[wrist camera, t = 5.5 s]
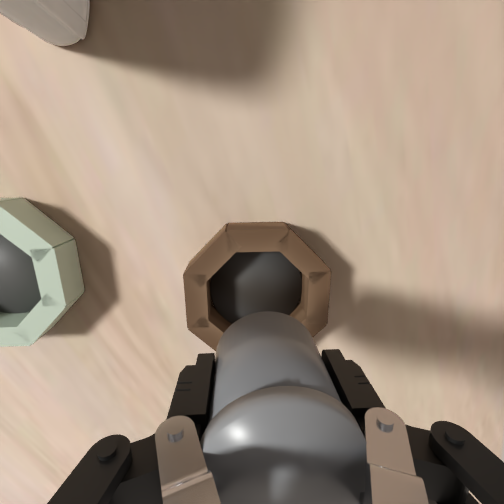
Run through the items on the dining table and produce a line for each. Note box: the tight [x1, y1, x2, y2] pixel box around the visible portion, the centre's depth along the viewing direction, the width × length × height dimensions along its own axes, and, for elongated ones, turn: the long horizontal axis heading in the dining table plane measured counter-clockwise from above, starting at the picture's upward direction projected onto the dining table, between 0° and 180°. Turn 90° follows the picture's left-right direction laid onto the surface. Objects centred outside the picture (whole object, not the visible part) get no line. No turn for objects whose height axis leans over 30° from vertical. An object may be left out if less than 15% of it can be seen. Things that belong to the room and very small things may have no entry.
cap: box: [200, 311, 367, 504], centre depth 12 cm, size 5×5×6 cm
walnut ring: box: [183, 222, 331, 351], centre depth 21 cm, size 10×10×2 cm
